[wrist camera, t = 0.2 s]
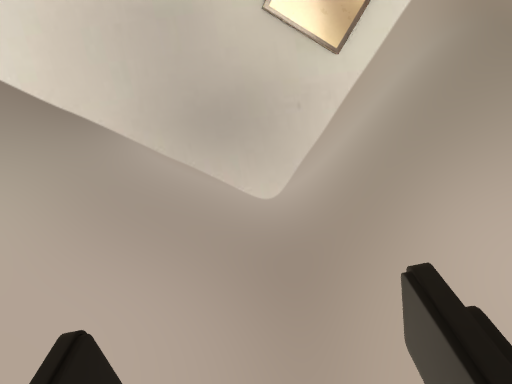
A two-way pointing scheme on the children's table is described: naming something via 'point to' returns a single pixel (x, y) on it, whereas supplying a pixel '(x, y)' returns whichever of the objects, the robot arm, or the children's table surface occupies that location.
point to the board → (320, 18)
